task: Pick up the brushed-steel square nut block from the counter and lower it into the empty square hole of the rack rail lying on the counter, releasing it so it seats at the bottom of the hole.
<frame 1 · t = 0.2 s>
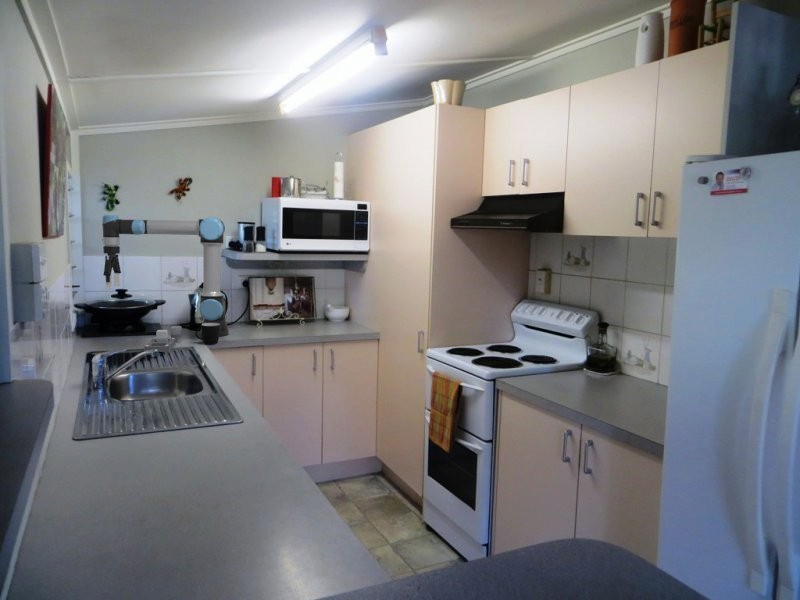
hand: (112, 287, 304), 28 cm above the worktop, fingers open, 13 cm apart
mug: (207, 344, 305), on the worktop
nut: (176, 342, 307), on the worktop
rail: (160, 348, 290), on the worktop
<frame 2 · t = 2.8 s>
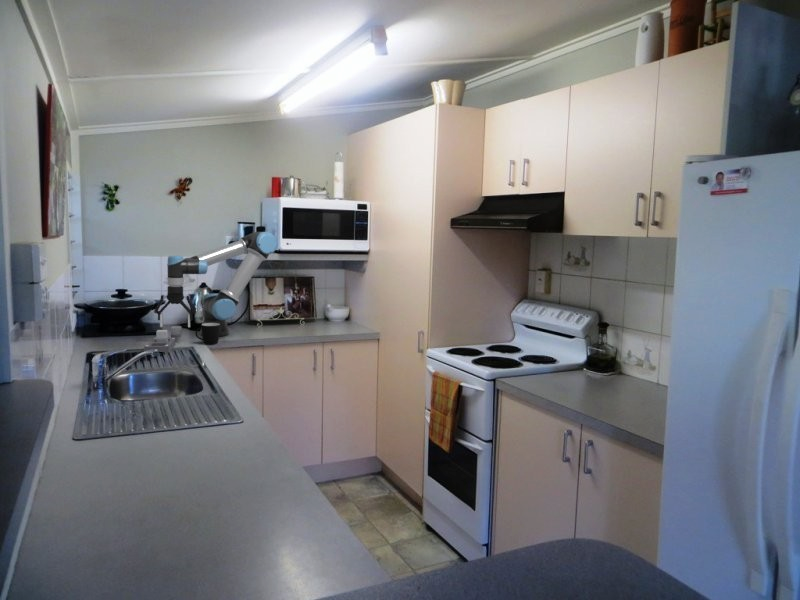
hand: (175, 326, 305), 8 cm above the worktop, fingers open, 13 cm apart
nothing on the worktop moved.
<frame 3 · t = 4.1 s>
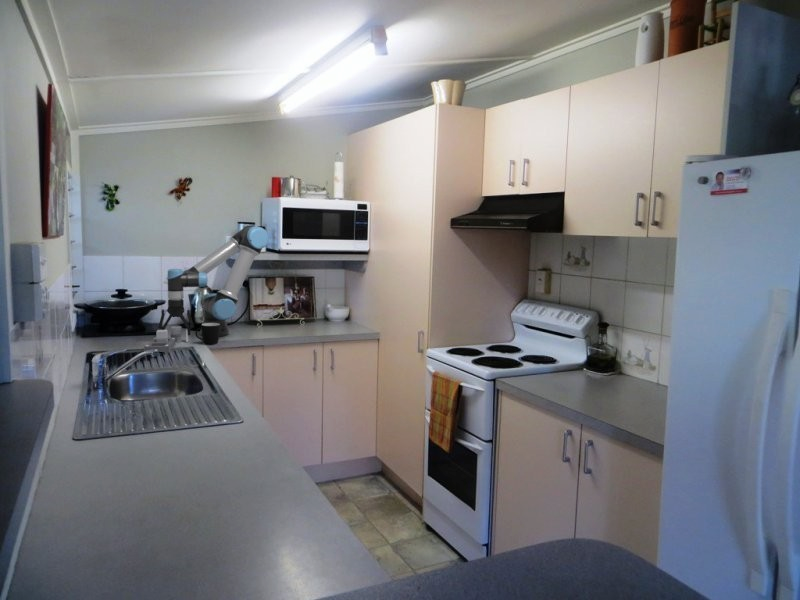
hand: (176, 341, 307), 0 cm above the worktop, fingers open, 10 cm apart
nothing on the worktop moved.
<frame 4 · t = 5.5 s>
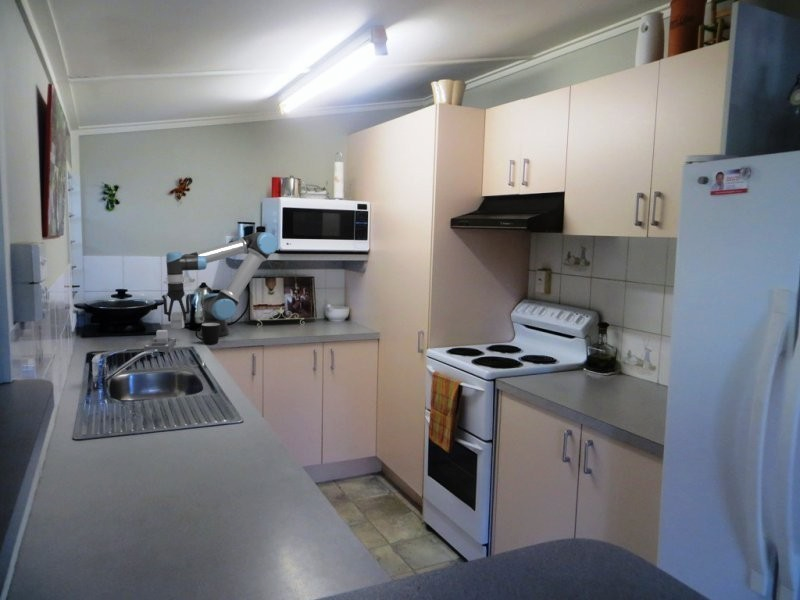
hand: (177, 327, 306), 8 cm above the worktop, fingers closed on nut, 5 cm apart
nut: (177, 328, 306), point 7 cm above the worktop, touching gripper
everything else where it was.
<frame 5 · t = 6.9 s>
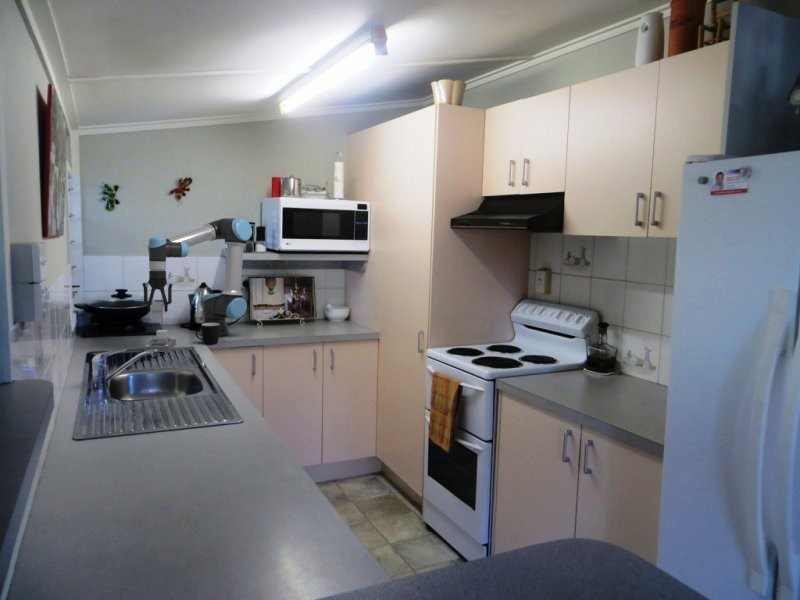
hand: (157, 318, 285), 16 cm above the worktop, fingers closed on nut, 5 cm apart
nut: (158, 319, 285), point 15 cm above the worktop, touching gripper
everything else where it was.
when the fingers open (4 cm above the worktop, at t = 8.7 s): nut drops 3 cm, resting in rail.
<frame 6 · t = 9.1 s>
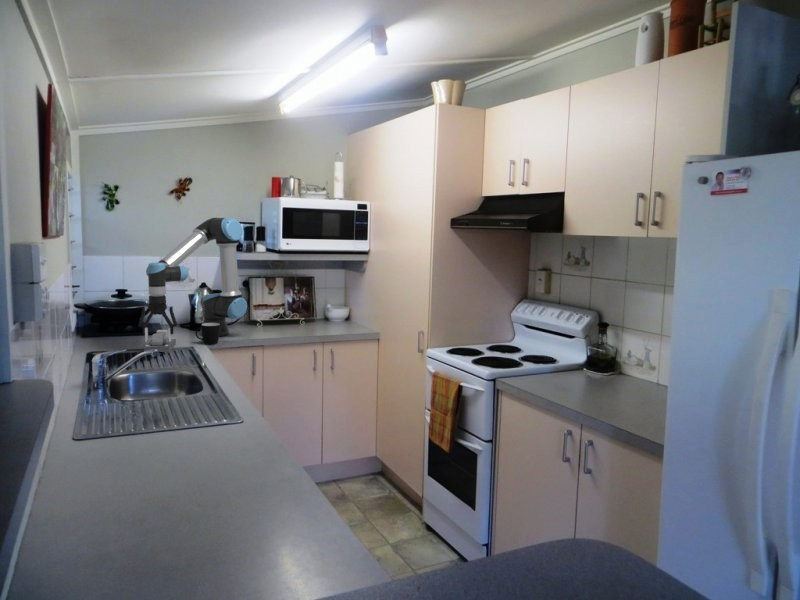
hand: (158, 341, 285), 5 cm above the worktop, fingers open, 10 cm apart
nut: (158, 350, 285), resting in rail
everything else where it was.
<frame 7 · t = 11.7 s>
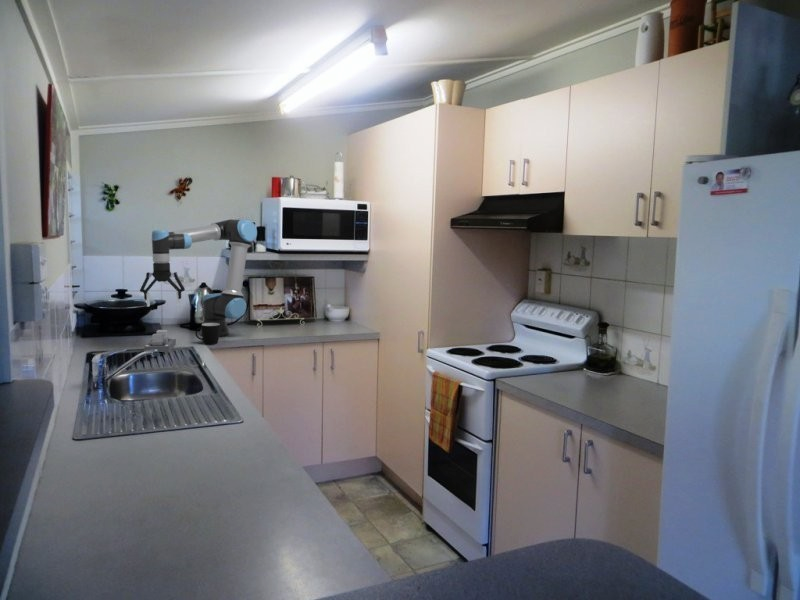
hand: (163, 306, 288), 21 cm above the worktop, fingers open, 13 cm apart
nothing on the worktop moved.
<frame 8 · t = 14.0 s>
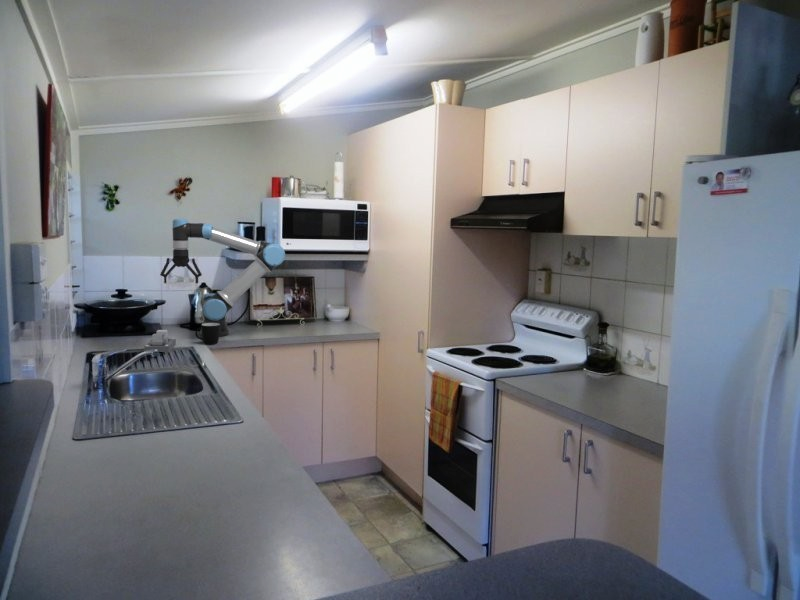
hand: (181, 289, 310), 27 cm above the worktop, fingers open, 13 cm apart
nothing on the worktop moved.
at the end: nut 0.1 cm from the target spot on the rail, point 0.0 cm above the rail's base; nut tilted 0°; the gripper is holding nothing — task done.
